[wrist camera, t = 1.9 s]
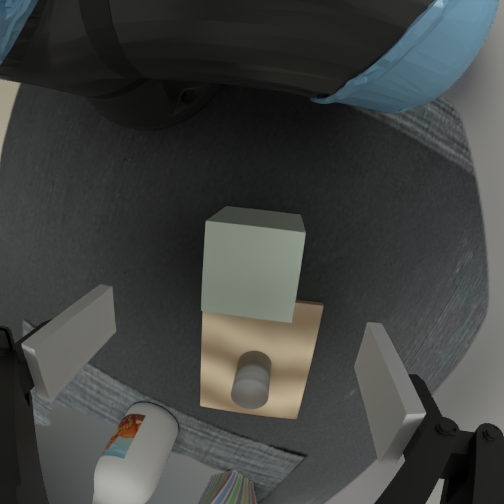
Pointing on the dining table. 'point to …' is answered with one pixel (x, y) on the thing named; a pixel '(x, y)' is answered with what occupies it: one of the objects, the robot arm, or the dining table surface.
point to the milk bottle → (135, 456)
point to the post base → (268, 341)
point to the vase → (229, 489)
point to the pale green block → (252, 263)
